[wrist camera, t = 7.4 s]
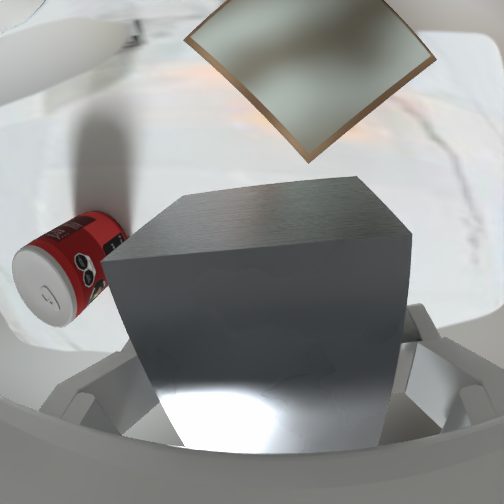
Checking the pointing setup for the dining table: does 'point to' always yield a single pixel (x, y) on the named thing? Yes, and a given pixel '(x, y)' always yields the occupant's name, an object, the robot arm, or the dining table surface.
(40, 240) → the canned food
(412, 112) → the dining table surface
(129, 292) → the block
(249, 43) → the stand
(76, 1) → the dining table surface
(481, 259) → the dining table surface
